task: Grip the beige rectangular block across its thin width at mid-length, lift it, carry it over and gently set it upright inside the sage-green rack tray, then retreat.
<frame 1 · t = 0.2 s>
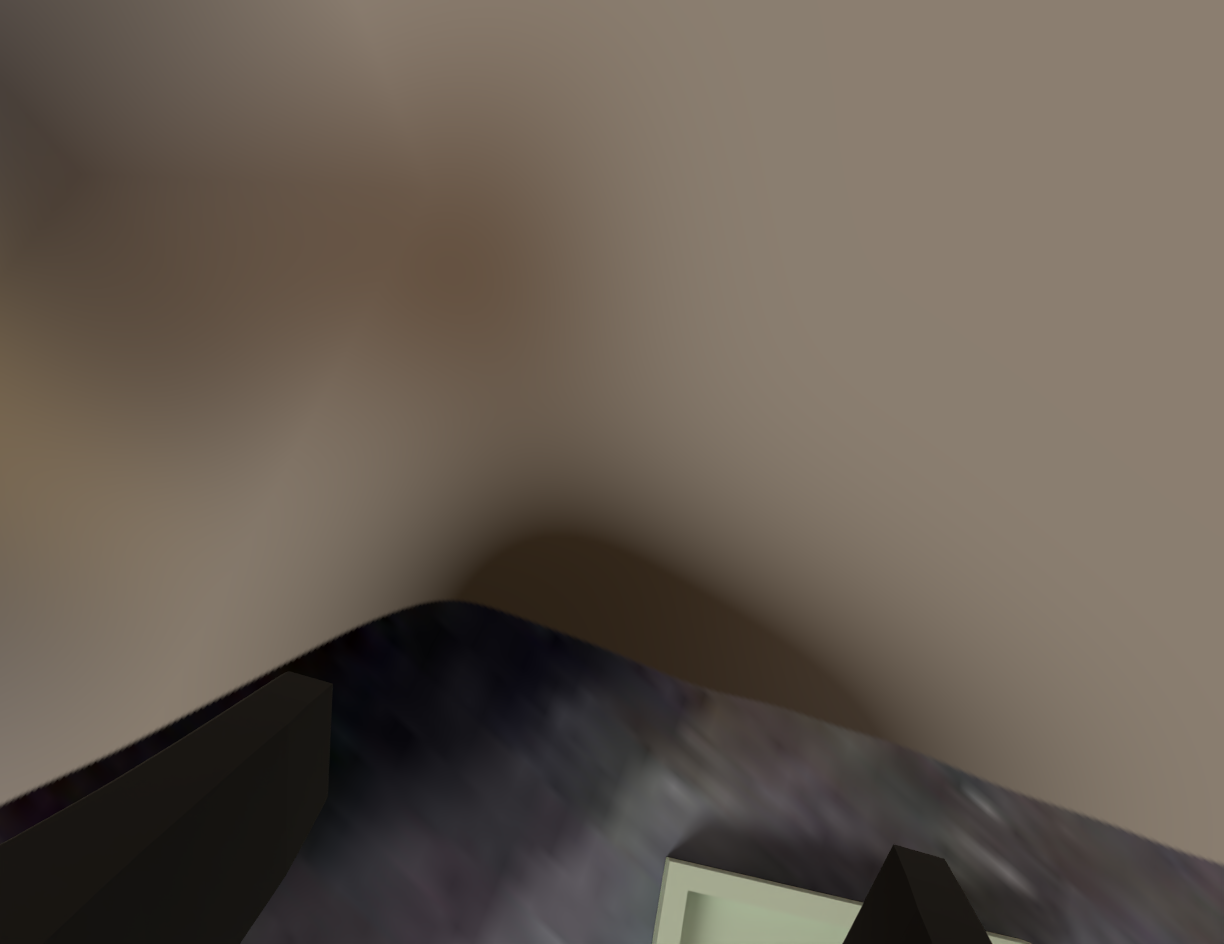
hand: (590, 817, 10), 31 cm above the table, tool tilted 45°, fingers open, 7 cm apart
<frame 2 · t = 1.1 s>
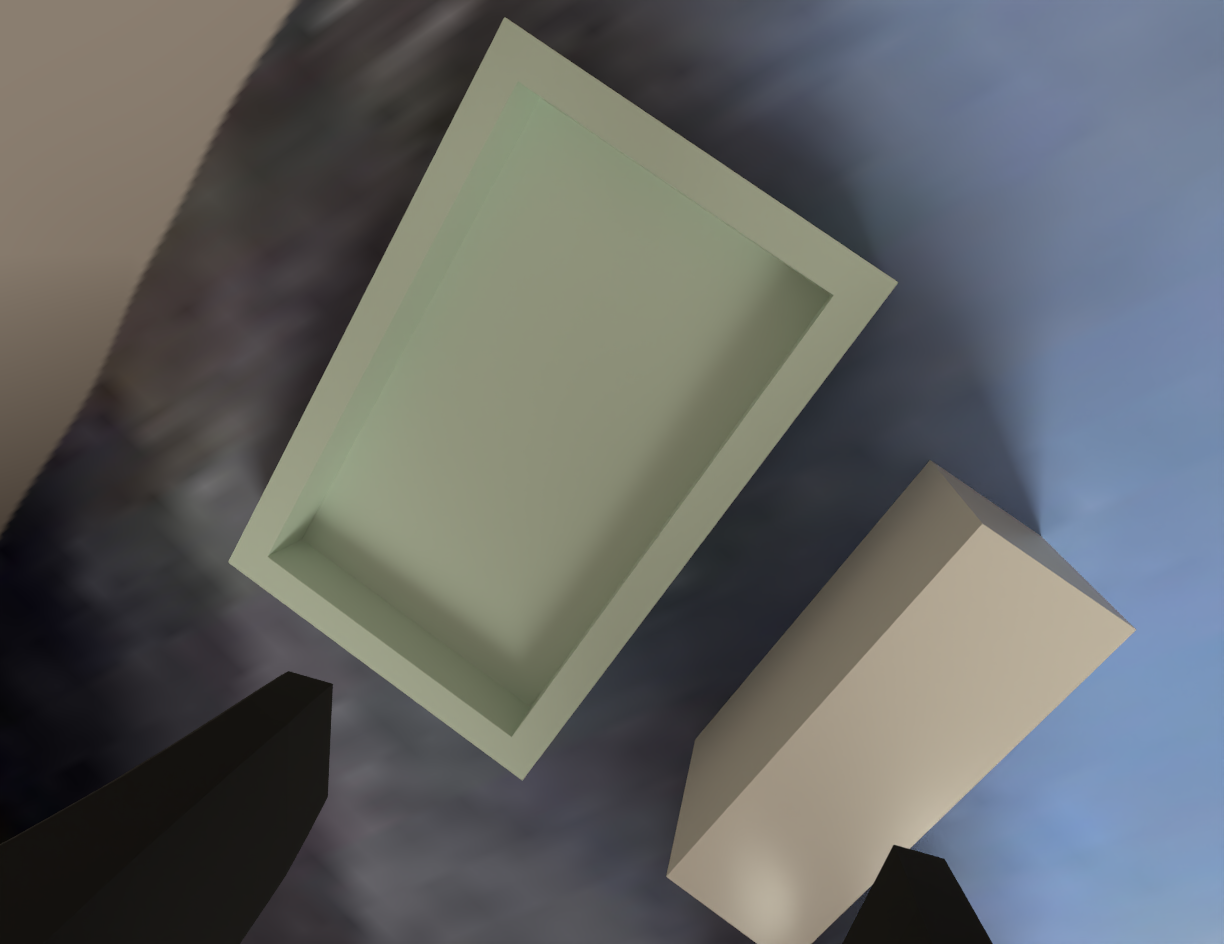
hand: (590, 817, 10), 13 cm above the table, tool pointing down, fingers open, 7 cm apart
rack tray: (543, 426, 23), on the table
beige rectangular block: (853, 644, 22), on the table
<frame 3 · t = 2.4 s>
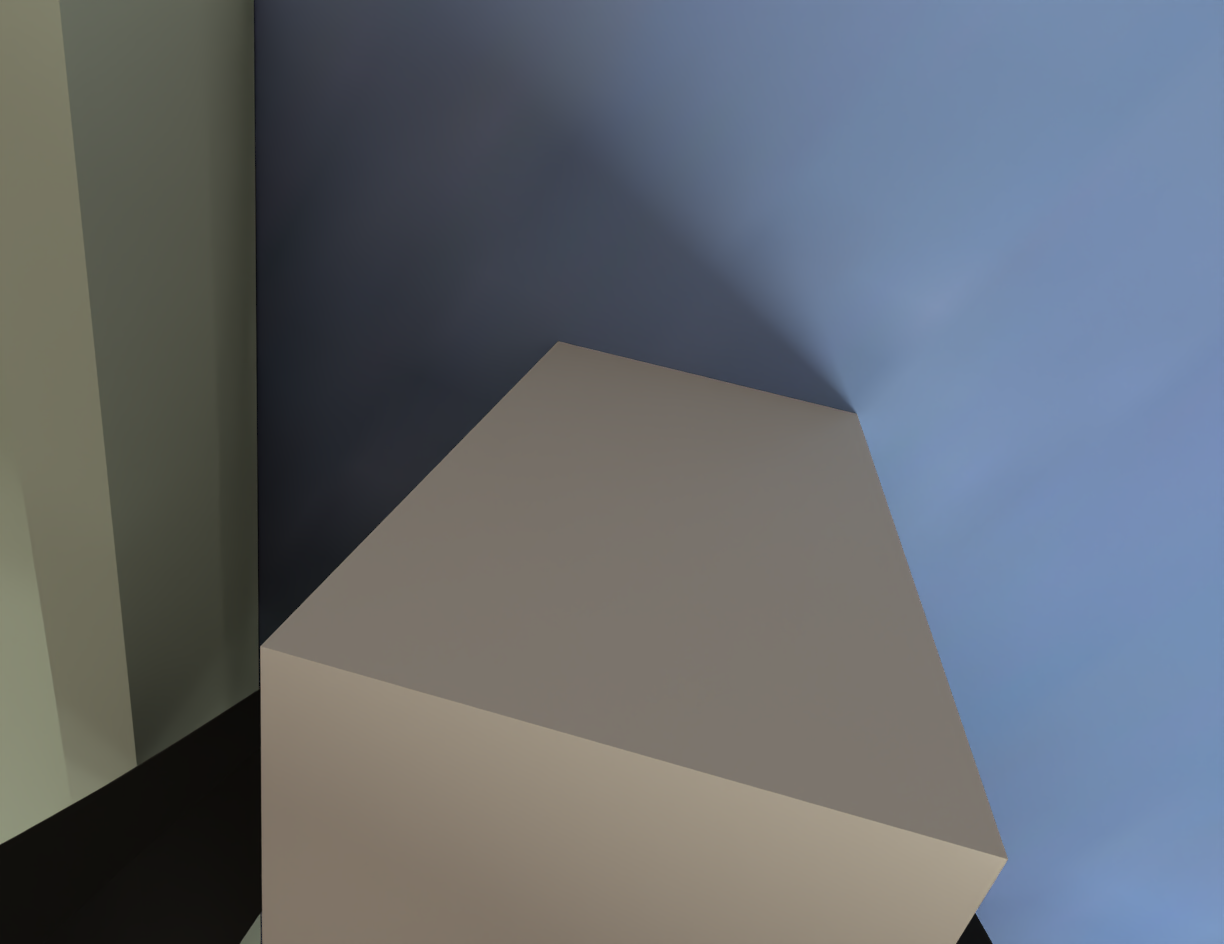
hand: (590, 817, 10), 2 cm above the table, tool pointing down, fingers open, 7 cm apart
beige rectangular block: (614, 726, 11), on the table
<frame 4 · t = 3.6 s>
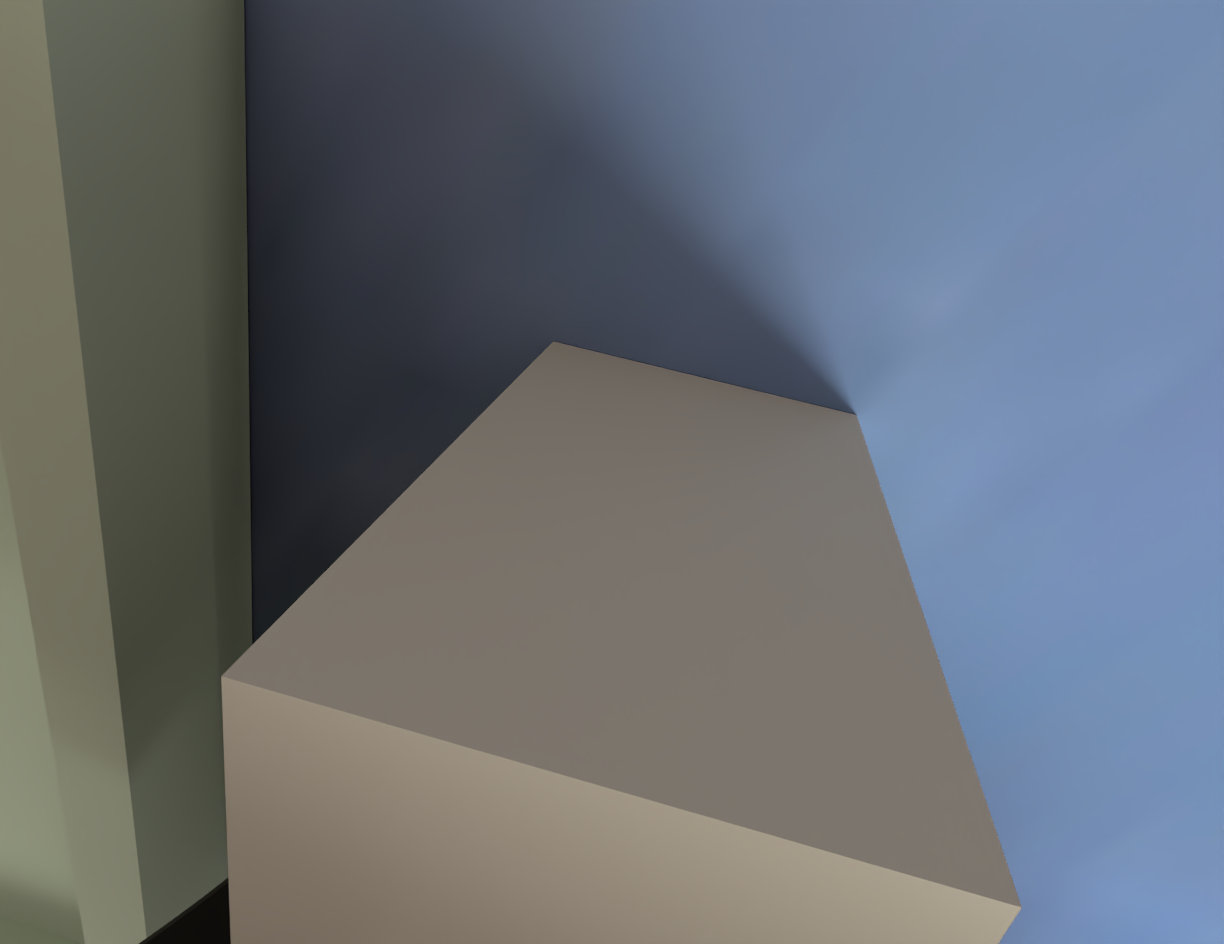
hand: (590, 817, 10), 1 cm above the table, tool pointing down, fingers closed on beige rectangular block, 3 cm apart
beige rectangular block: (609, 736, 11), on the table, touching gripper
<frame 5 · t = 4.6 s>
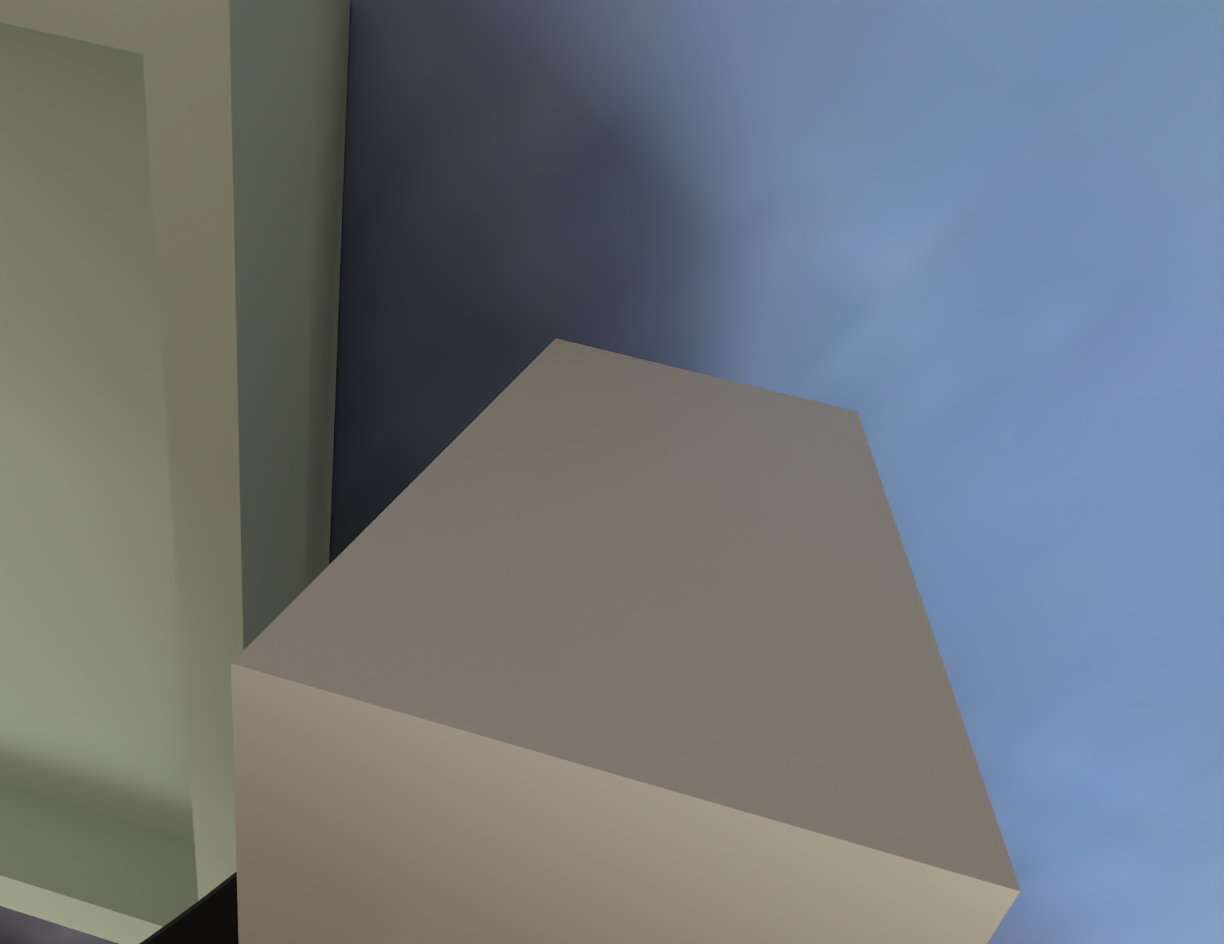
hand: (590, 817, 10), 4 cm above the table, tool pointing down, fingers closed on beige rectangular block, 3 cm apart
rack tray: (44, 478, 14), on the table
beige rectangular block: (611, 732, 11), point 2 cm above the table, touching gripper
when the fingers open (3 cm above the table, at t = 8.4 s): beige rectangular block stays where it is, resting on rack tray.
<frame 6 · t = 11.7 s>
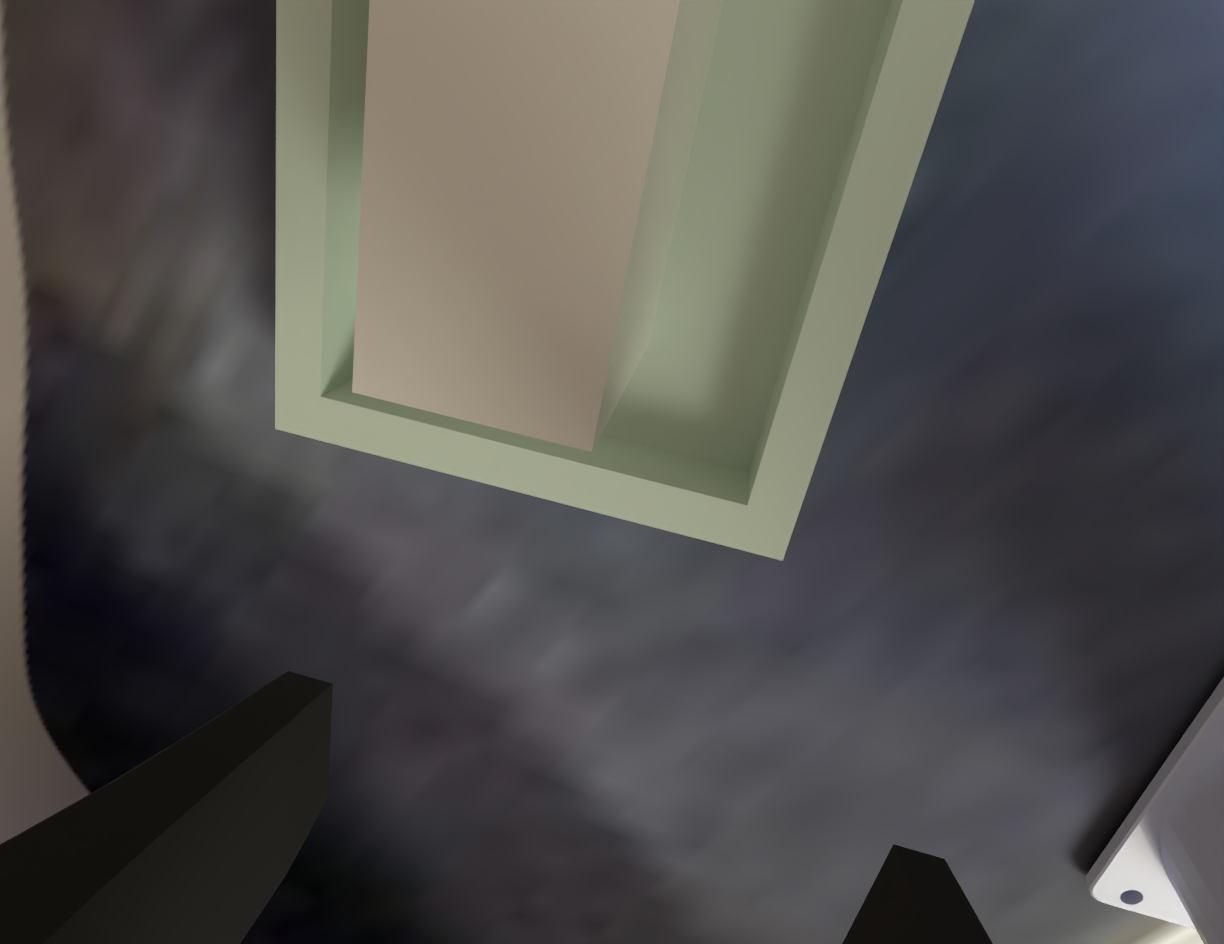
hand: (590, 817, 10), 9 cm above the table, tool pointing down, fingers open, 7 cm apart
rack tray: (622, 46, 15), on the table
beige rectangular block: (617, 26, 14), point 1 cm above the table, touching rack tray
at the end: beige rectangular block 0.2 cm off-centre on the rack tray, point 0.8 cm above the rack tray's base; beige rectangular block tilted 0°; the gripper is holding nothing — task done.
